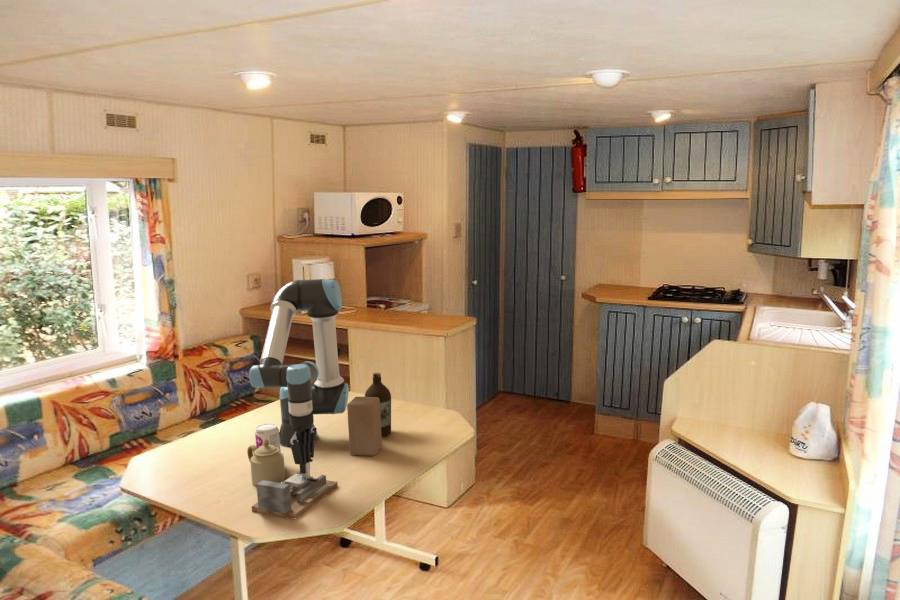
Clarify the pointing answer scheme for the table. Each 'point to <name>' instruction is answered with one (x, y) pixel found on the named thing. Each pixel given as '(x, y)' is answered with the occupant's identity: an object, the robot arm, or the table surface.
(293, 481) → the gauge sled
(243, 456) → the table surface
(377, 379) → the olive oil
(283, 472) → the sugar bowl
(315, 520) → the table surface
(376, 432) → the block
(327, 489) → the gauge bed
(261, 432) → the supplement can
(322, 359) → the robot arm
